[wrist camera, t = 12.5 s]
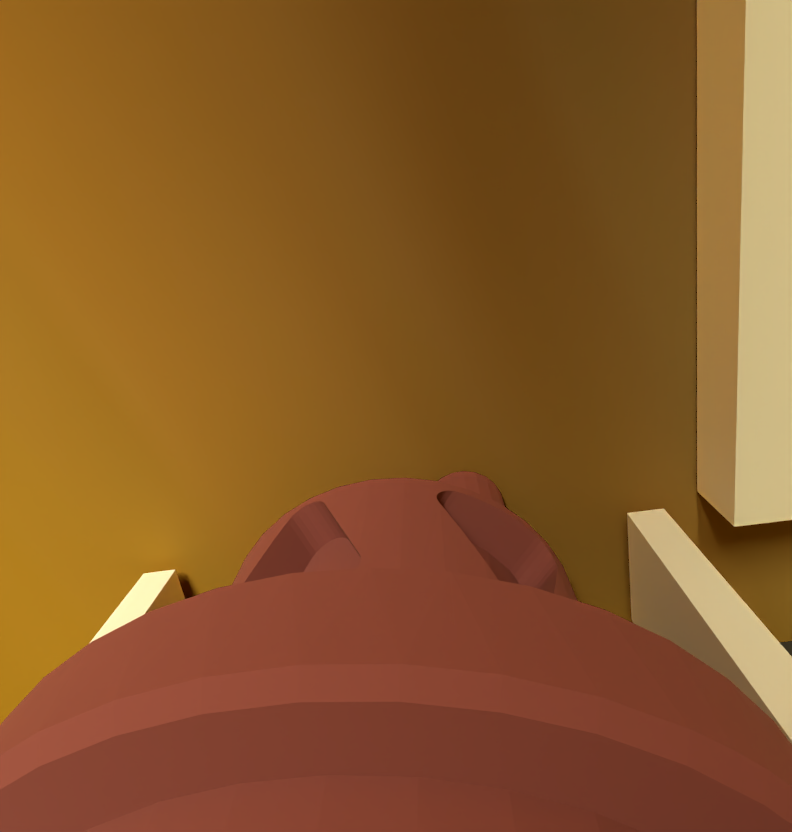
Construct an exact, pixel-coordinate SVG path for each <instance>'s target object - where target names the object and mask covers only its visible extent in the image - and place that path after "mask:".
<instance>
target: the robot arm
mask: <svg viewBox="0 0 792 832" xmlns="http://www.w3.org/2000/svg"><path fill="white" fill-rule="evenodd" d="M627 524H628V547H629V571H630V594H631V618H632V621H633V623H634V624H636V625H638V626H640V627H643V628H645V629H647V630H649V631H651V632H653V633H655V634H657V635H660V636H662V637H664V638H666V639H668V640H670V641H672V642H673V643H675V644H676V645H678V646H679V647H681V648H682V649H684V650H685V651H687V652H688V653H690V654H692V655H693V656H695V657H696V658H698V659H699V660H701V661H702V662H704V663H705V664H707V665H708V666H710V667H711V668H713V669H714V670H716V671H717V672H719V673H720V674H722V675H723V676H725V677H726V678H728V679H729V680H730V681H731V682H732V683H733V684H734V685H735V686H736V687H738V688H739V689H740V690H741V691H742V692H743V693H744V694H745V695H746V696H747V697H748V698H750V699H751V700H752V701H753V702H754V703H755V704H756V705H757V706H758V707H759V708H760V709H761V710H763V711H764V712H765V713H766V714H767V715H768V716H769V717H770V718H771V719H772V720H773V721H774V722H775V723H776V724H777V726H778V727H779V728H780V730H781V731H782V732H783V734H784V735H785V736H786V738H787V739H788V740H789V742H790V743H791V744H792V641H789V642H779V641H778V640H777V639H776V638H775V637H774V636H773V634H772V633H771V632H770V631H769V630H768V629H767V627H766V626H765V625H764V624H763V623H762V622H761V621H760V619H759V618H758V617H757V616H756V615H755V614H754V612H753V611H752V610H751V609H750V608H749V607H748V605H747V604H746V603H745V602H744V601H743V600H742V599H741V597H740V596H739V595H738V594H737V593H736V592H735V590H734V589H733V588H732V587H731V586H730V585H729V583H728V582H727V581H726V580H725V579H724V578H723V577H722V575H721V574H720V573H719V572H718V571H717V570H716V568H715V567H714V566H713V565H712V564H711V563H710V561H709V560H708V559H707V558H706V557H705V556H704V555H703V553H702V552H701V551H700V550H699V549H698V548H697V546H696V545H695V544H694V543H693V542H692V541H691V539H690V538H689V537H688V536H687V535H686V534H685V533H684V531H683V530H682V529H681V528H680V527H679V526H678V524H677V523H676V522H675V521H674V520H673V519H672V517H671V516H670V515H669V514H668V513H667V512H666V511H665V509H664V508H663V509H655V510H647V511H639V512H631V513H627ZM184 599H185V597H184V594H183V591H182V587H181V584H180V581H179V578H178V575H177V572H176V570H168V571H160V572H152V573H144V574H143V575H142V577H141V578H140V579H139V580H138V582H137V583H136V584H135V586H134V587H133V588H132V589H131V591H130V592H129V593H128V594H127V596H126V597H125V598H124V600H123V601H122V602H121V603H120V605H119V606H118V607H117V609H116V610H115V611H114V612H113V614H112V615H111V616H110V618H109V619H108V620H107V621H106V623H105V624H104V625H103V626H102V628H101V629H100V630H99V632H98V633H97V634H96V635H95V637H94V638H93V639H92V641H94V640H96V639H98V638H100V637H102V636H104V635H106V634H108V633H109V632H111V631H113V630H115V629H117V628H119V627H121V626H123V625H125V624H127V623H129V622H131V621H132V620H134V619H136V618H138V617H140V616H142V615H144V614H146V613H148V612H150V611H152V610H155V609H158V608H161V607H164V606H167V605H170V604H173V603H176V602H178V601H181V600H184ZM92 641H91V642H92ZM91 642H90V643H91Z"/></svg>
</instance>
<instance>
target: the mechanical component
mask: <svg viewBox="0 0 792 832" xmlns="http://www.w3.org/2000/svg"><path fill="white" fill-rule="evenodd" d="M0 832H792V744H791V743H790V742H789V740H788V739H787V738H786V736H785V735H784V734H783V732H782V731H781V730H780V728H779V727H778V726H777V724H776V723H775V722H774V721H773V720H772V719H771V718H770V717H769V716H768V715H767V714H766V713H765V712H764V711H763V710H761V709H760V708H759V707H758V706H757V705H756V704H755V703H754V702H753V701H752V700H751V699H750V698H748V697H747V696H746V695H745V694H744V693H743V692H742V691H741V690H740V689H739V688H738V687H736V686H735V685H734V684H733V683H732V682H731V681H730V680H729V679H728V678H726V677H725V676H723V675H722V674H720V673H719V672H717V671H716V670H714V669H713V668H711V667H710V666H708V665H707V664H705V663H704V662H702V661H701V660H699V659H698V658H696V657H695V656H693V655H692V654H690V653H688V652H687V651H685V650H684V649H682V648H681V647H679V646H678V645H676V644H675V643H673V642H672V641H670V640H668V639H666V638H664V637H662V636H660V635H657V634H655V633H653V632H651V631H649V630H647V629H645V628H643V627H640V626H638V625H636V624H634V623H632V622H630V621H628V620H625V619H623V618H621V617H619V616H617V615H615V614H613V613H611V612H608V611H606V610H604V609H601V608H598V607H595V606H592V605H588V604H585V603H582V602H579V601H577V598H576V596H575V594H574V591H573V589H572V587H571V584H570V582H569V579H568V577H567V575H566V572H565V570H564V568H563V565H562V564H561V562H560V561H559V560H558V558H557V557H556V555H555V554H554V552H553V551H552V549H551V548H550V546H549V545H548V543H547V542H546V541H545V540H544V539H543V538H542V537H541V536H540V535H539V534H538V533H537V532H536V531H535V530H534V529H533V528H532V527H531V526H530V525H529V524H528V523H527V522H526V521H524V520H523V519H522V518H520V517H519V516H517V515H516V514H514V513H513V512H511V511H510V510H508V509H507V508H506V507H505V506H504V502H503V499H502V496H501V493H500V491H499V490H498V488H497V487H496V485H495V484H494V483H493V482H492V481H491V480H489V479H488V478H487V477H486V476H483V475H481V474H478V473H476V472H467V471H461V472H455V473H451V474H449V475H447V476H444V477H442V478H441V479H440V480H438V481H431V480H422V479H413V478H391V479H372V480H367V481H363V482H358V483H353V484H349V485H344V486H340V487H337V488H335V489H332V490H330V491H327V492H325V493H322V494H320V495H317V496H315V497H312V498H310V499H308V500H307V501H305V502H304V503H302V504H300V505H299V506H297V507H296V508H294V509H292V510H291V511H289V512H288V513H286V514H284V515H283V516H282V517H281V518H280V519H279V520H278V521H277V522H276V523H275V524H273V525H272V526H271V527H270V528H269V529H268V530H267V531H266V532H265V533H264V534H263V535H262V536H261V537H260V539H259V540H258V542H257V543H256V544H255V546H254V547H253V548H252V550H251V551H250V552H249V554H248V555H247V557H246V558H245V560H244V562H243V564H242V566H241V568H240V570H239V572H238V574H237V576H236V578H235V580H234V582H233V584H232V585H230V586H225V587H220V588H216V589H213V590H210V591H207V592H205V593H202V594H199V595H196V596H193V597H190V598H187V599H184V600H181V601H178V602H176V603H173V604H170V605H167V606H164V607H161V608H158V609H155V610H152V611H150V612H148V613H146V614H144V615H142V616H140V617H138V618H136V619H134V620H132V621H131V622H129V623H127V624H125V625H123V626H121V627H119V628H117V629H115V630H113V631H111V632H109V633H108V634H106V635H104V636H102V637H100V638H98V639H96V640H94V641H92V642H91V643H89V644H88V645H87V646H85V647H84V648H83V649H81V650H80V651H79V652H77V653H76V654H75V655H73V656H72V657H71V658H69V659H68V660H67V661H65V662H64V663H63V664H61V665H60V666H59V667H57V668H56V669H55V670H53V671H52V672H51V673H49V674H48V675H47V676H45V677H44V678H43V679H42V680H41V681H40V682H39V683H38V684H37V685H36V686H35V688H34V689H33V690H32V691H31V692H30V693H29V694H28V695H27V696H26V697H25V698H24V699H23V700H22V702H21V703H20V704H19V705H18V706H17V707H16V708H15V709H14V710H13V711H12V712H11V713H10V714H9V716H8V717H7V718H6V719H5V720H4V721H3V722H2V724H1V725H0Z"/></svg>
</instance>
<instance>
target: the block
mask: <svg viewBox="0 0 792 832" xmlns="http://www.w3.org/2000/svg"><path fill="white" fill-rule="evenodd" d="M697 492H698V493H699V494H700V495H701V496H703V497H704V498H705V499H706V500H707V501H708V502H709V503H710V504H711V505H712V506H713V507H714V508H715V509H716V510H717V511H718V512H719V513H720V514H721V515H722V516H723V517H724V518H725V519H727V520H728V521H729V522H730V523H731V524H732V525H733V526H734V527H737V526H745V525H753V524H762V523H770V522H778V521H786V520H792V0H697Z"/></svg>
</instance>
